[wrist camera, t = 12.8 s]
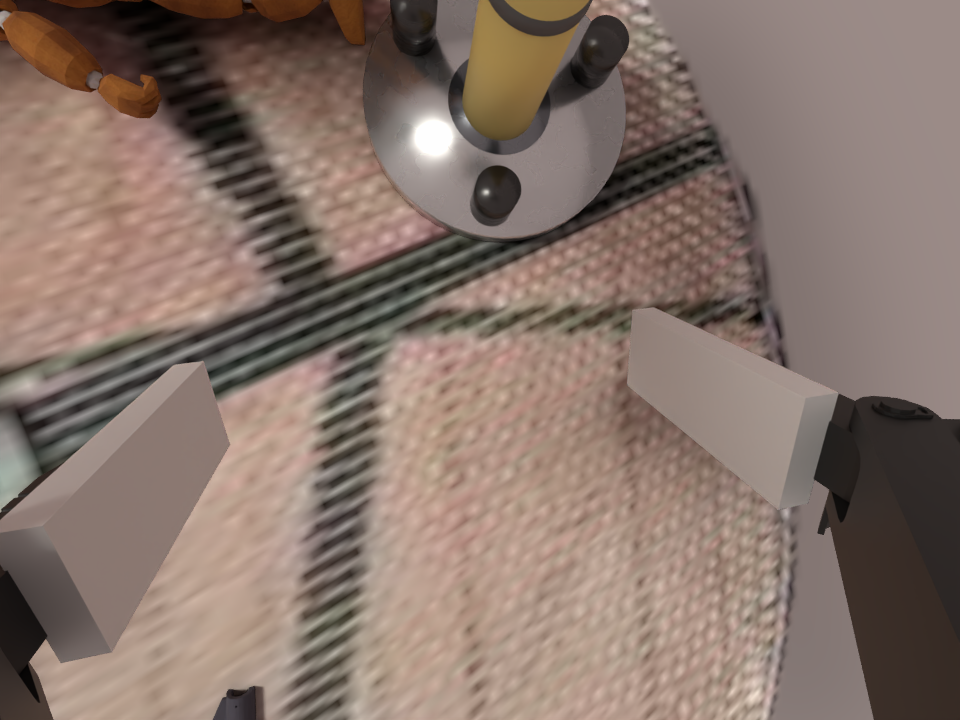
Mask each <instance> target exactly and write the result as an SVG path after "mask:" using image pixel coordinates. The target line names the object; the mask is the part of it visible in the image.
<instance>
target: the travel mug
mask: <svg viewBox="0 0 960 720" xmlns="http://www.w3.org/2000/svg"><path fill="white" fill-rule="evenodd" d="M591 2H592V0H479V3H478V9H477V15H476V20H475V26H474V32H473V38H472V44H471V50H470V56H469V61H468V67H467V73H466V79H465V85H464V91H463V97H462V104H463V110H464V113H465V116H466V118H467V120H468V121H469V123H470V124H471V126H472V127H473V128H474V129H475V130H476V131H477V132H479V133H480V134H482V135H483V136H485V137H487V138H490V139H494V140H501V141H502V140H510V139H514V138H516V137H518V136H520V135H521V134H523V133H524V132H525V131H526V130H527V129H528V128H529V126H530V125H531V123H532V121H533V119H534V117H535V115H536V113H537V110H538V108H539V106H540V104H541V102H542V100H543V98H544V96H545V94H546V92H547V89H548V87H549V85H550V83H551V81H552V79H553V77H554V75H555V73H556V70H557V68H558V66H559V64H560V62H561V60H562V58H563V56H564V54H565V52H566V49H567V47H568V45H569V43H570V41H571V39H572V37H573V35H574V33H575V31H576V28H577V26H578V24H579V22H580V21H581V19H582V18H583V17H584V15H585V14H586V12H587V10H588V8H589V6H590V4H591Z"/></svg>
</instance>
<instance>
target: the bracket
mask: <svg viewBox="0 0 960 720" xmlns="http://www.w3.org/2000/svg"><path fill="white" fill-rule="evenodd" d="M226 695H227V697H224V698H222V700H221V702H220V705H219V707H218V709H217V712H216V714H215V716H214V718H213V720H256V709H255V686H253V687H249V690H248V691H247V692H246V693H245V694H243V695H241V696H237V697H234V695H233V689H229V690H228V691H227V694H226Z"/></svg>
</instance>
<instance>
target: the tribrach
mask: <svg viewBox="0 0 960 720" xmlns="http://www.w3.org/2000/svg"><path fill="white" fill-rule="evenodd" d="M478 3H479V0H390V6H391V14H390V15H389V16H388V18H387V19H386V20H385V22H384V23H383V25H382V26H381V28H380V29H379V31H378V33H377V35H376V38H375V40H374V42H373V44H372V46H371V49H370V52H369V56H368V59H367V62H366V68H365V74H364V81H363V102H364V112H365V119H366V123H367V128H368V132H369V136H370V140H371V145H372V147H373V150H374V153H375V155H376V158H377V160H378V163H379V164H380V166H381V168H382V170H383V172H384V174H385V175H386V177H387V179H388V180H389V181H390V183H391V184H392V186H393V187H394V188H395V190H396V191H397V192H398V193H399V195H400V196H401V197H402V198H403V199H404V200H405V201H406V202H407V203H408V204H409V205H410V206H411V207H412V208H413V209H415V210H416V211H417V212H418V213H419V214H421V215H422V216H423V217H425V218H426V219H428V220H429V221H431V222H432V223H434V224H435V225H437V226H439V227H441V228H443V229H445V230H447V231H450V232H452V233H454V234H457V235H460V236H463V237H466V238H470V239H475V240H480V241H486V242H515V241H521V240H526V239H531V238H535V237H538V236H540V235H543V234H546V233H549V232H550V231H552V230H554V229H556V228H558V227H560V226H562V225H563V224H565V223H566V222H568V221H569V220H570V219H572V218H573V217H575V216H576V215H577V214H578V213H579V212H580V211H581V210H582V209H583V208H584V207H585V206H586V205H587V204H588V203H590V202H591V201H592V200H593V199H594V198H595V196H596V195H597V194H598V193H599V191H600V190H601V189H602V188H603V186H604V185H605V183H606V182H607V180H608V178H609V177H610V175H611V173H612V172H613V169H614V167H615V165H616V162H617V160H618V158H619V154H620V151H621V147H622V144H623V139H624V133H625V126H626V104H625V95H624V89H623V84H622V80H621V76H620V73H619V70H618V67H617V64H618V62H619V61H620V59H621V58H622V56H623V55H624V53H625V52H626V50H627V48H628V45H629V35H628V31H627V29H626V27H625V26H624V24H623V23H622V22H621V21H620V20H619V19H617V18H615V17H613V16H609V15H602V16H599V17H597V18H595V19H594V20H593V21H592V22H591V21H590V20H589V18H588V17H587V16H586V15H584V17H583V18H582V19H581V21H580V22H579V24H578V26H577V28H576V31H575V33H574V35H573V37H572V39H571V41H570V43H569V45H568V47H567V49H566V52H565V54H564V56H563V58H562V60H561V62H560V64H559V66H558V68H557V70H556V73H555V75H554V77H553V79H552V81H551V83H550V85H549V87H548V89H547V92H546V94H545V96H544V98H543V100H542V102H541V104H540V106H539V108H538V110H537V113H536V115H535V117H534V119H533V121H532V123H531V125H530V126H529V128H528V129H527V130H526V131H525V132H524V133H523V134H521V135H520V136H518V137H516V138H514V139H510V140H502V141H501V140H494V139H490V138H487V137H485V136H483V135H482V134H480V133H479V132H477V131H476V130H475V129H474V128H473V127H472V126H471V124H470V123H469V121H468V120H467V118H466V116H465V113H464V110H463V104H462V97H463V91H464V85H465V79H466V73H467V67H468V61H469V56H470V50H471V44H472V38H473V32H474V26H475V20H476V15H477V9H478Z"/></svg>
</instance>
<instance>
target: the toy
mask: <svg viewBox="0 0 960 720" xmlns="http://www.w3.org/2000/svg"><path fill="white" fill-rule="evenodd" d="M47 1H51V2H55V3H59V4H63V5H67V6H71V7H75V8H84V7H95V6H102V5H104V4H107V3H110V2H113V1H116V0H47ZM118 1H132V2H141V1H143V0H118ZM150 1H152V2H154V3H156V4H158V5H161V6H163V7H165V8H167V9H169V10H171V11H175V12H179V13H182V14H186V15H190V16H194V17H197V18H201V19H212V18H231V17H234V16H238V15H241V14H242V8H243V10H245V11H247V12H250V13H253V12H258V11H259V13H260V14H261V15H263V16H265V17H267V18H269V19H271V20H273V21H275V22H282V21H286V20H290V19H295V18H299V17H303V16H306V15H307V14H309V13H310V12H311V11H312V10H313V9H314V8H316V7H317V6H318V5H319V4H320V3H321V2H322V1H323V0H150ZM329 3H330V7H331V9H332V11H333V13H334V15H335V17H336V19H337V21H338V23H339V25H340V28H341V30H342V32H343V34H344V36H345V38H346V39H347V40H348V41H349V42H350V43H351V44H358V45H365V27H364V13H363V3H362V0H329ZM3 40H8V41H9V43H10V44H11V46H12V48H13V49H14V50H15V51H16V52H17V53H18V54H20V55H21V56H22V57H23V58H24V59H25V60H27V61H28V62H29V63H30V64H31V65H32V66H34V67H35V68H36V69H37V70H38V71H40V72H41V73H42V74H44V75H45V76H47V77H49V78H51V79H53V80H55V81H57V82H59V83H61V84H63V85H65V86H67V87H69V88H71V89H75V90H80V91H86V92H92V91H94V90H96V89H98V92H99V93H100V94H101V96H102V97H103V98H104V99H105V100H106V101H107V102H108V103H109V104H110V105H112V106H113V107H114V108H115V109H117V110H118V111H119V112H121V113H124V114H127V115H130V116H133V117H136V118H150V117H151V116H153V115H154V114H155V113H156V112H157V109H158V106H159V103H160V101H161V100H162V98H161V95H160V92H159V89H158V88H157V82H156V80H155V79H154V78H153V77H151V76H147V75H142V74H141V76H140V80H141V81H142V82H143V83H144V87H141V86H138V85H136V84H134V83H131V82H129V81H127V80H124V79H122V78H120V77H118V76H115V75H113V74H109V75H107V76H105V77H103V73H102V68H101V67H100V65H99V63H98V62H97V60H96V59H95V57H94V56H93V55H92V54H91V53H90V52H89V51H88V50H87V49H86V48H85V47H84V46H83V45H81V44H80V43H79V42H78V41H77V40H76V39H75V38H74V37H73V36H72V35H71V34H70V33H69V32H68V31H67V30H66V29H64V28H62V27H60V26H58V25H56V24H55V23H53V22H51V21H49V20H47V19H45V18H43V17H41V16H40V15H38V14H36V13H31V12H21V11H19V10H18V8H17V6H16V4H15V3H14V2H12V1H11V0H0V41H3Z"/></svg>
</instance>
